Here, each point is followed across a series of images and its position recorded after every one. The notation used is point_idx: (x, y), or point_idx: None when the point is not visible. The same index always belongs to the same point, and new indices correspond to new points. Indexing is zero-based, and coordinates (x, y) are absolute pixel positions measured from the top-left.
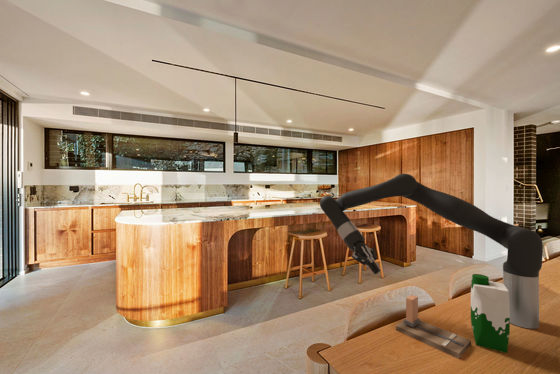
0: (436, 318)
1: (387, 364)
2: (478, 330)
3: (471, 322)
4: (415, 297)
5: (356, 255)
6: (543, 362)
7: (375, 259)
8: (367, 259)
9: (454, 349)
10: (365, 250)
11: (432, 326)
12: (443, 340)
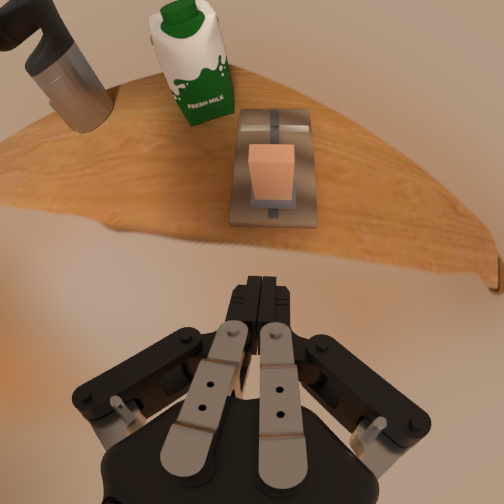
0: (166, 191)
1: (431, 186)
2: (230, 88)
3: (210, 96)
4: (262, 146)
5: (412, 413)
6: None
7: (197, 331)
8: (310, 353)
9: (303, 115)
10: (222, 440)
11: (241, 165)
12: (287, 133)
